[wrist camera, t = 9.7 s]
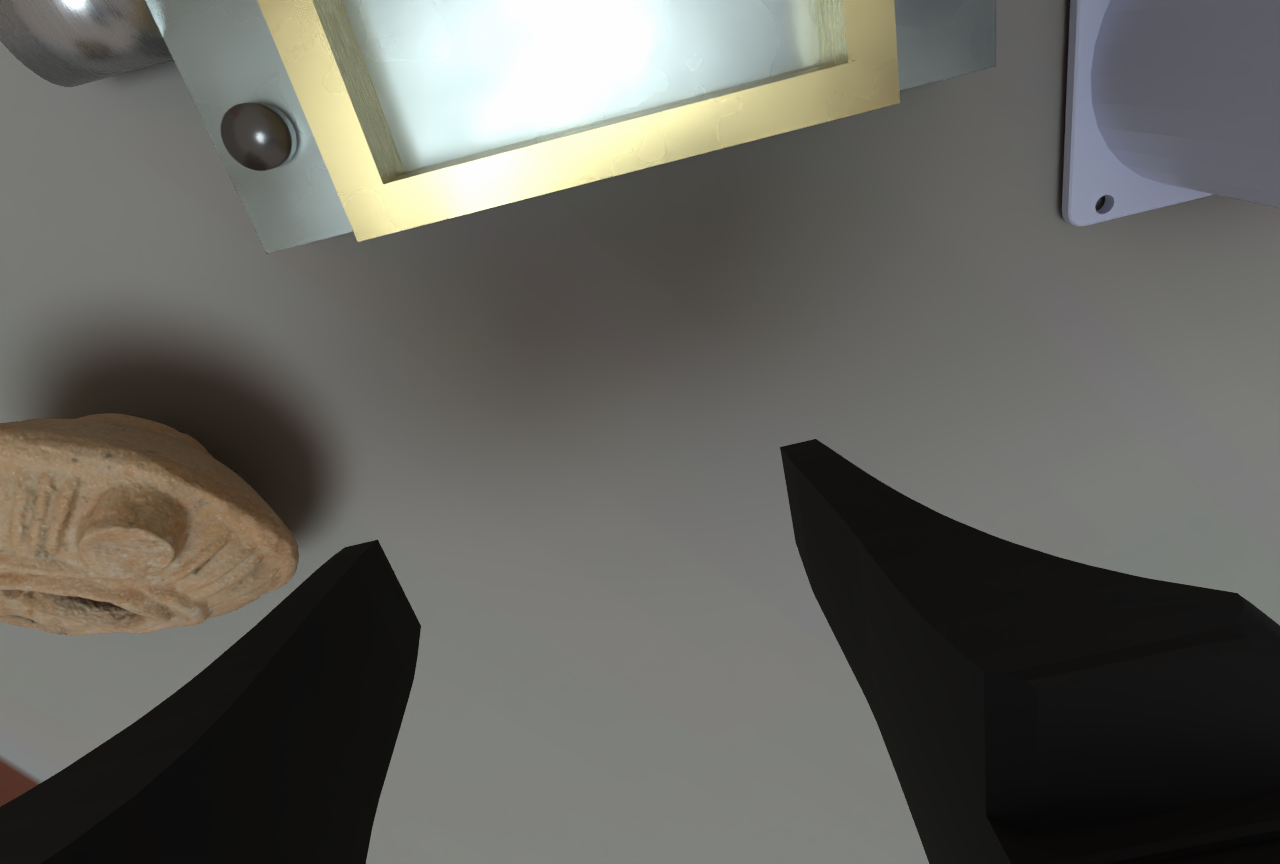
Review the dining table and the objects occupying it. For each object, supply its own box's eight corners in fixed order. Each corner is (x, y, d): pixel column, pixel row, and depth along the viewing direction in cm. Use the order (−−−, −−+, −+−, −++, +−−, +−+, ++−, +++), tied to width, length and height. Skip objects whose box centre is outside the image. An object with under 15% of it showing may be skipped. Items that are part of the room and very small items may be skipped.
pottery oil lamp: (-88, 492, 23) (-346, 653, 17) (161, 275, 20) (-36, 369, 14) (145, 653, 26) (4, 836, 20) (383, 486, 24) (306, 637, 17)
